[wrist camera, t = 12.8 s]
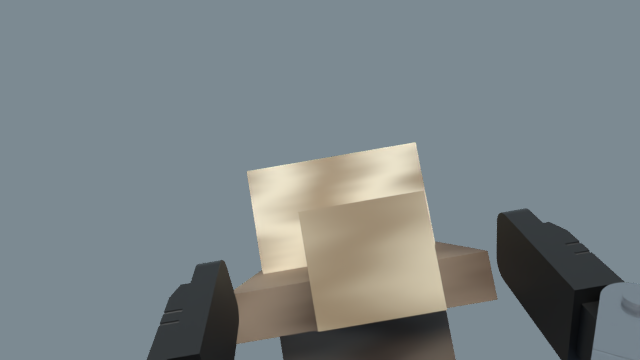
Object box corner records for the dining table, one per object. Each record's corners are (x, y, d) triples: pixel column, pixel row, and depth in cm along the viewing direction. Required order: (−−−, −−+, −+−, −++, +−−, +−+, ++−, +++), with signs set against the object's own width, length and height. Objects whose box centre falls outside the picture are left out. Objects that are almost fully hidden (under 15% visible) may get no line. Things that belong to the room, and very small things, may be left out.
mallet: (415, 240, 31) (399, 157, 32) (613, 281, 10) (552, 16, 10) (275, 264, 31) (262, 180, 32) (152, 360, 10) (118, 91, 10)
